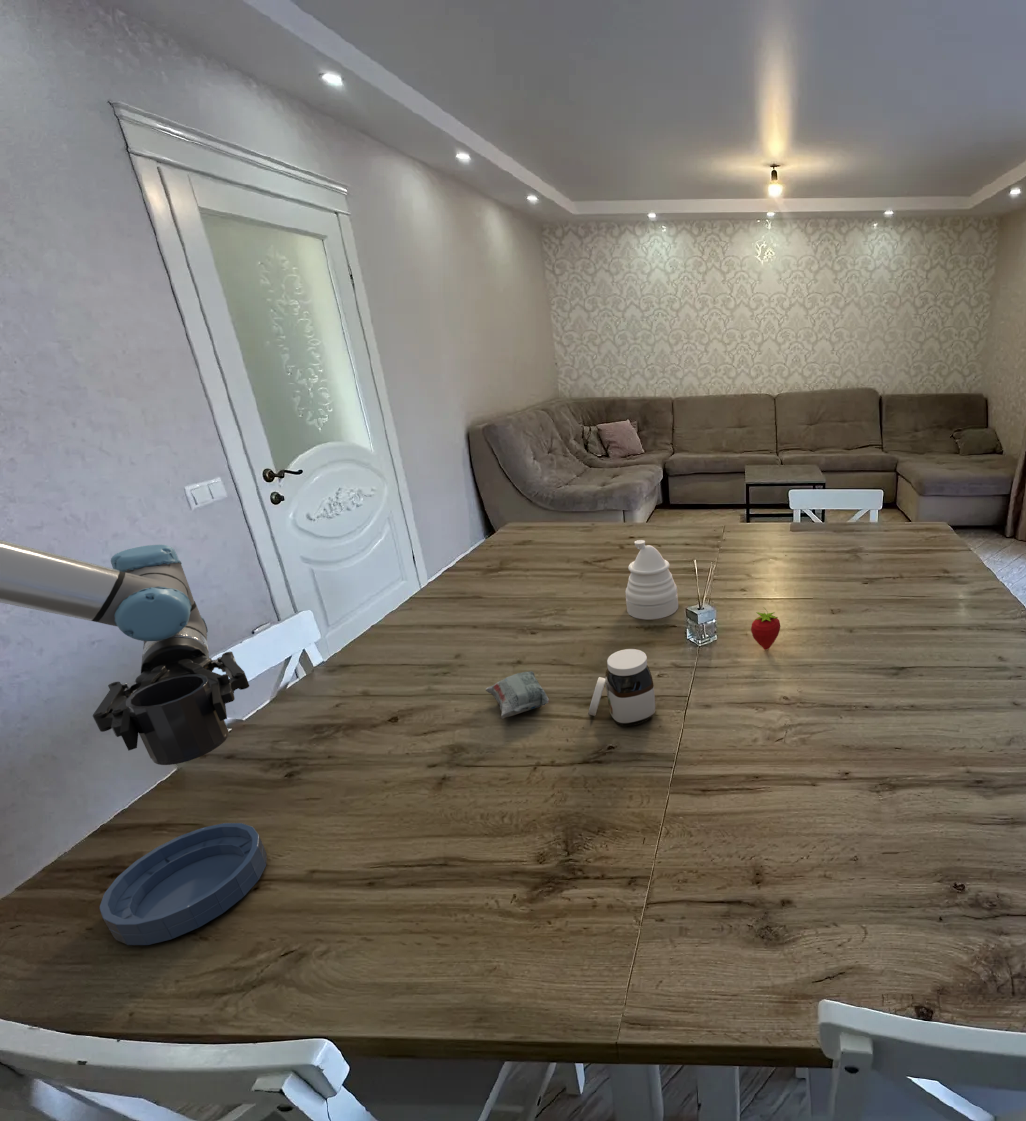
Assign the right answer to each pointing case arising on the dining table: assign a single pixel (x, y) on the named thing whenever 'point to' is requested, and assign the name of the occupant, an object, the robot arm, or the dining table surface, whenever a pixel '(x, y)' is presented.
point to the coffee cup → (177, 719)
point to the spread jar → (626, 688)
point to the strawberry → (765, 629)
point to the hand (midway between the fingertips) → (176, 725)
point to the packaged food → (518, 694)
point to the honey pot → (650, 585)
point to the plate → (183, 884)
